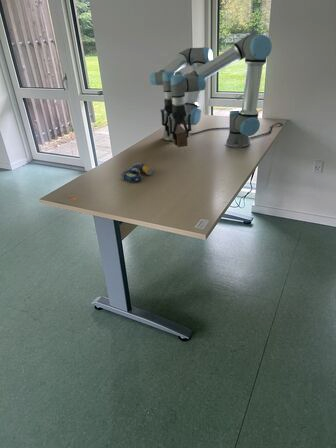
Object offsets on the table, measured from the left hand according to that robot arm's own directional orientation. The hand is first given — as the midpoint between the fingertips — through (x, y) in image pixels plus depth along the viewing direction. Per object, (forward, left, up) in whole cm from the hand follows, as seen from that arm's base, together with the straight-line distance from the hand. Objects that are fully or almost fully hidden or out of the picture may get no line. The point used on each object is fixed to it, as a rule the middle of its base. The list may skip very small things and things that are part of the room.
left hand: (172, 134), depth 220 cm
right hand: (+5, +19, 0) cm, 20 cm away
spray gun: (+38, +25, -10) cm, 46 cm away
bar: (+3, +10, -1) cm, 10 cm away
